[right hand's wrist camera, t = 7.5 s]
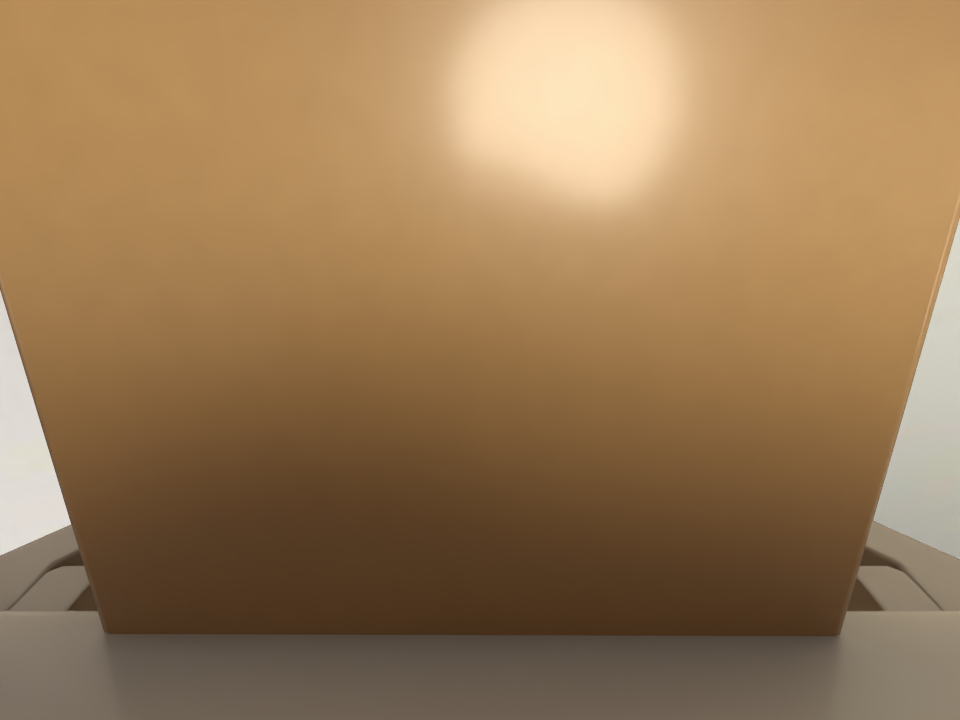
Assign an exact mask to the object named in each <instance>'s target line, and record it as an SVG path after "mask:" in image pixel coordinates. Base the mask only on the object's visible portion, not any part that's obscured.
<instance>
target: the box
mask: <svg viewBox="0 0 960 720" xmlns="http://www.w3.org/2000/svg"><path fill="white" fill-rule="evenodd" d="M959 218H960V0H0V290H1V294H2V297H3V300H4V304H5V307H6V310H7V314H8V317H9V320H10V323H11V327H12V330H13V333H14V337H15V340H16V343H17V346H18V350H19V353H20V356H21V360H22V363H23V366H24V370H25V373H26V376H27V379H28V383H29V386H30V389H31V393H32V396H33V399H34V403H35V406H36V409H37V412H38V416H39V419H40V422H41V426H42V429H43V432H44V436H45V439H46V442H47V445H48V449H49V452H50V455H51V459H52V462H53V465H54V469H55V472H56V475H57V478H58V482H59V485H60V488H61V492H62V495H63V498H64V502H65V505H66V508H67V511H68V515H69V518H70V521H71V525H72V528H73V531H74V534H75V538H76V541H77V544H78V548H79V551H80V554H81V558H82V561H83V564H84V567H85V571H86V574H87V577H88V581H89V584H90V587H91V591H92V594H93V597H94V600H95V604H96V607H97V610H98V614H99V617H100V620H101V624H102V627H103V630H104V632H106V633H109V634H257V635H590V636H836V635H839V634H840V633H841V629H842V626H843V622H844V619H845V615H846V612H847V608H848V605H849V601H850V598H851V594H852V591H853V587H854V584H855V580H856V577H857V573H858V570H859V566H860V563H861V560H862V556H863V553H864V549H865V546H866V542H867V539H868V535H869V532H870V528H871V525H872V521H873V518H874V514H875V511H876V507H877V504H878V500H879V497H880V493H881V490H882V486H883V483H884V479H885V476H886V473H887V469H888V466H889V462H890V459H891V455H892V452H893V448H894V445H895V441H896V438H897V434H898V431H899V427H900V424H901V420H902V417H903V413H904V410H905V406H906V403H907V399H908V396H909V392H910V389H911V385H912V382H913V379H914V375H915V372H916V368H917V365H918V361H919V358H920V354H921V351H922V347H923V344H924V340H925V337H926V333H927V330H928V326H929V323H930V319H931V316H932V312H933V309H934V305H935V302H936V298H937V295H938V291H939V288H940V285H941V281H942V278H943V274H944V271H945V267H946V264H947V260H948V257H949V253H950V250H951V246H952V243H953V239H954V236H955V232H956V229H957V225H958V222H959Z"/></svg>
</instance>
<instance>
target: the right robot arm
mask: <svg viewBox="0 0 960 720" xmlns="http://www.w3.org/2000/svg"><path fill="white" fill-rule="evenodd" d="M0 720H960V560H959V559H957V558H955V557H953V556H950V555H948V554H946V553H944V552H941V551H939V550H937V549H935V548H932V547H930V546H928V545H926V544H924V543H921V542H919V541H917V540H915V539H912V538H910V537H908V536H906V535H903V534H901V533H899V532H897V531H894V530H892V529H890V528H888V527H885V526H883V525H881V524H879V523H876V522H874V521H872V525H871V528H870V532H869V535H868V539H867V542H866V546H865V549H864V553H863V556H862V560H861V563H860V566H859V570H858V573H857V577H856V580H855V584H854V587H853V591H852V594H851V598H850V601H849V605H848V608H847V612H846V615H845V619H844V622H843V626H842V629H841V633H840V634H839V635H836V636H590V635H257V634H109V633H106V632H104V630H103V627H102V624H101V620H100V617H99V614H98V610H97V607H96V604H95V600H94V597H93V594H92V591H91V587H90V584H89V581H88V577H87V574H86V571H85V567H84V564H83V561H82V558H81V554H80V551H79V548H78V544H77V541H76V538H75V534H74V531H73V528H72V525H69V526H67V527H64V528H62V529H60V530H58V531H55V532H53V533H51V534H49V535H46V536H44V537H42V538H39V539H37V540H35V541H33V542H30V543H28V544H26V545H24V546H21V547H19V548H17V549H14V550H12V551H10V552H8V553H5V554H3V555H1V556H0Z"/></svg>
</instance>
